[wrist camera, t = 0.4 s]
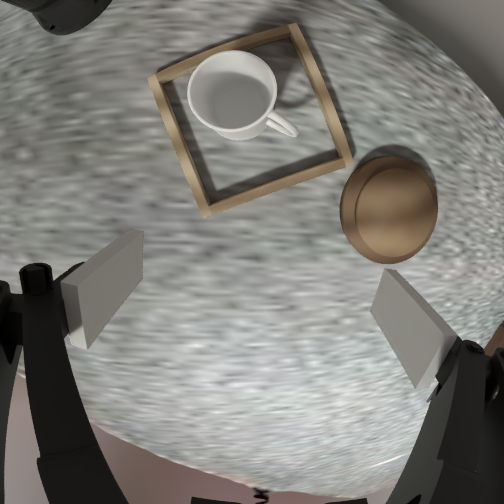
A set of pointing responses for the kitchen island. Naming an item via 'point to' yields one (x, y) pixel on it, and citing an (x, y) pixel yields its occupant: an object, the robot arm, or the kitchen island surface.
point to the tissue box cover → (495, 343)
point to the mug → (236, 96)
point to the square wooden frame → (274, 185)
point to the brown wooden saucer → (388, 209)
